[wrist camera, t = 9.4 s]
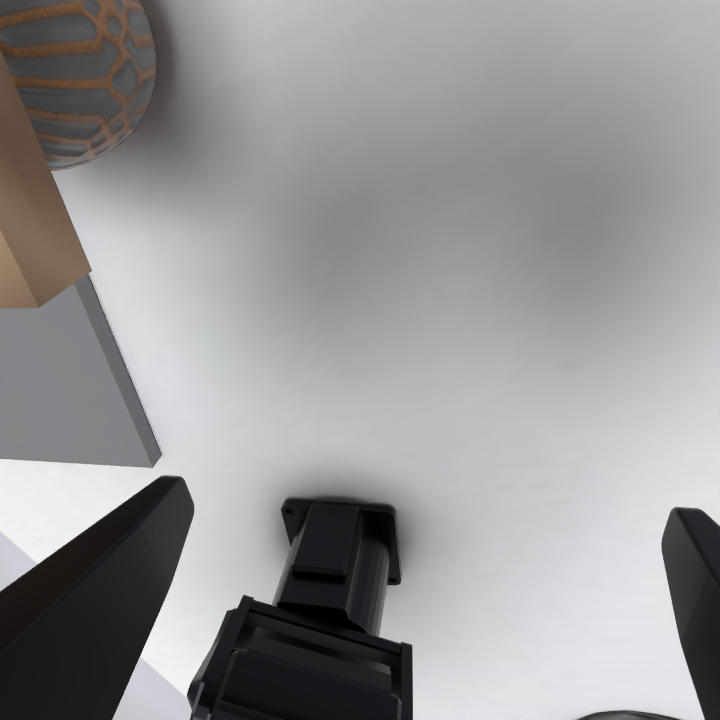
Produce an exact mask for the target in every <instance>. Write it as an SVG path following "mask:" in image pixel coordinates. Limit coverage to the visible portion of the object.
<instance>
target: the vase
mask: <svg viewBox="0 0 720 720" xmlns="http://www.w3.org/2000/svg"><path fill="white" fill-rule="evenodd" d="M0 50H1V52H2V55H3V57H4V59H5V62H6V64H7V67H8V69H9V72H10V74H11V76H12V79H13V81H14V84H15V86H16V88H17V91H18V93H19V96H20V98H21V101H22V103H23V105H24V108H25V110H26V113H27V115H28V117H29V120H30V122H31V125H32V127H33V130H34V132H35V134H36V137H37V139H38V142H39V144H40V146H41V149H42V151H43V154H44V156H45V158H46V161H47V163H48V166H49V168H50V171H57V170H63V169H69V168H73V167H76V166H79V165H82V164H85V163H88V162H90V161H92V160H94V159H97V158H99V157H101V156H103V155H105V154H106V153H108V152H109V151H111V150H113V149H114V148H116V147H117V146H118V145H120V144H121V143H122V142H123V141H124V140H125V139H126V138H127V137H128V136H129V135H130V134H131V133H132V132H133V131H134V129H135V128H136V127H137V126H138V124H139V122H140V121H141V119H142V118H143V116H144V114H145V112H146V110H147V108H148V106H149V103H150V100H151V97H152V94H153V90H154V85H155V79H156V52H155V44H154V39H153V35H152V31H151V27H150V24H149V21H148V18H147V16H146V13H145V11H144V9H143V6H142V4H141V2H140V0H0Z"/></svg>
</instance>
